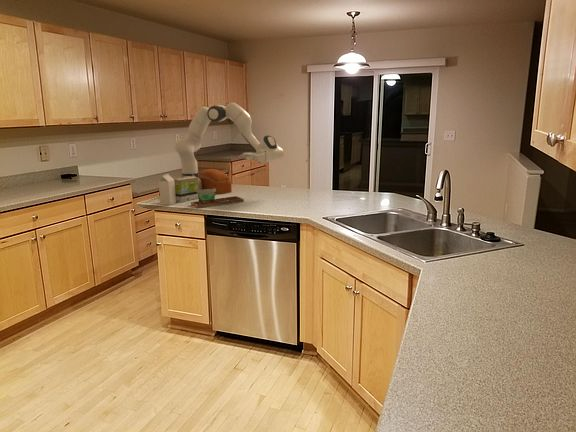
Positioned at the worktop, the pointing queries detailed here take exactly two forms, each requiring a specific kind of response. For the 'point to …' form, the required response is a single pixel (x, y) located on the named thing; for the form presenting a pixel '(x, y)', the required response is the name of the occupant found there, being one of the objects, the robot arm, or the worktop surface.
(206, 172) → the bread
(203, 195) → the food container
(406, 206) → the worktop surface
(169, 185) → the milk carton
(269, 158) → the robot arm
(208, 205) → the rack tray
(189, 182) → the tea box
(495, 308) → the worktop surface
